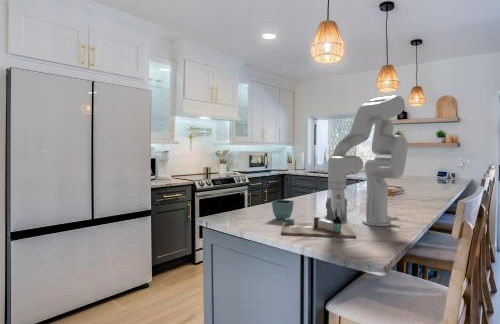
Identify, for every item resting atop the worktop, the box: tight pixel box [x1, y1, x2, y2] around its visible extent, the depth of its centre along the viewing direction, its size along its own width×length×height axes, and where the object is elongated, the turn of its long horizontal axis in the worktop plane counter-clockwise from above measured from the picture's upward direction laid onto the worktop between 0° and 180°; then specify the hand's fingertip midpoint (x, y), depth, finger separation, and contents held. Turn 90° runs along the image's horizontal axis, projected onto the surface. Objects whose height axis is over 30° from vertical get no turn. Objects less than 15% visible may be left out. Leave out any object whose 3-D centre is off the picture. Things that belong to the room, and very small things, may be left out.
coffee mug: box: [325, 196, 348, 221], centre depth 166 cm, size 13×10×10 cm
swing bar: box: [318, 218, 342, 233], centre depth 134 cm, size 10×2×4 cm, turn 36°
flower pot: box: [271, 199, 294, 221], centre depth 161 cm, size 9×9×9 cm
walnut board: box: [280, 216, 357, 239], centre depth 138 cm, size 30×18×5 cm, turn 81°
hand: (337, 228), depth 135 cm, fingers closed
